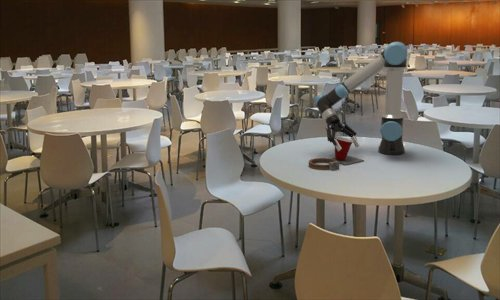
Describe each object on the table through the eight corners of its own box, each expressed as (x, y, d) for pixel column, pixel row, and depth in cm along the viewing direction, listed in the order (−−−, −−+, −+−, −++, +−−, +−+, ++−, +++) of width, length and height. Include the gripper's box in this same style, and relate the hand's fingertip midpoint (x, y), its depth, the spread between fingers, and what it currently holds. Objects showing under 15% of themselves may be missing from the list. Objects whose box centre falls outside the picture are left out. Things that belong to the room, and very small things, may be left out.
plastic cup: (350, 162, 276) (354, 141, 274) (330, 159, 278) (334, 137, 276) (350, 159, 287) (353, 138, 285) (331, 155, 289) (334, 135, 286)
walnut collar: (324, 160, 285) (324, 153, 284) (346, 167, 270) (346, 160, 269) (303, 165, 277) (303, 158, 276) (324, 172, 262) (324, 165, 261)
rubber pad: (346, 156, 293) (346, 155, 293) (363, 161, 281) (363, 160, 281) (328, 160, 285) (328, 159, 285) (345, 165, 274) (345, 164, 274)
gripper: (343, 119, 298) (361, 148, 289) (311, 124, 285) (328, 155, 276) (350, 111, 292) (368, 141, 283) (317, 116, 279) (335, 147, 270)
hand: (349, 148), depth 280 cm, fingers open, 13 cm apart
